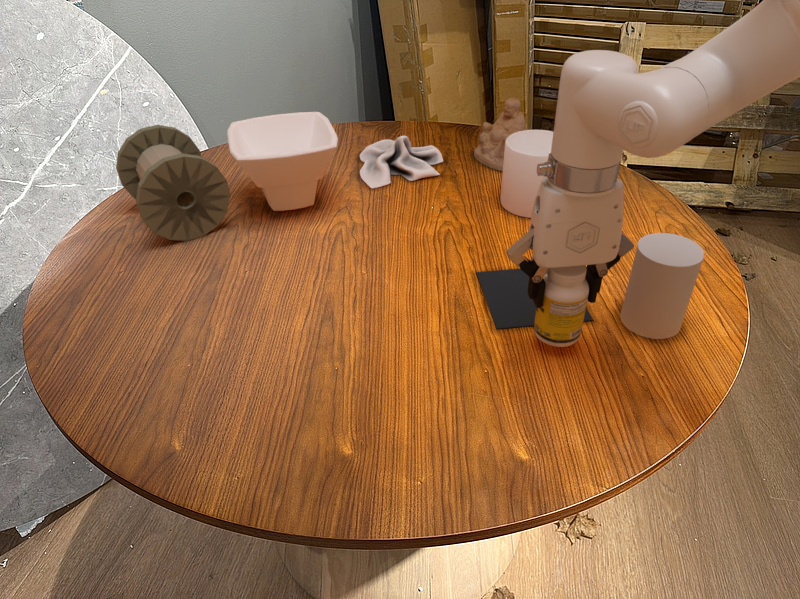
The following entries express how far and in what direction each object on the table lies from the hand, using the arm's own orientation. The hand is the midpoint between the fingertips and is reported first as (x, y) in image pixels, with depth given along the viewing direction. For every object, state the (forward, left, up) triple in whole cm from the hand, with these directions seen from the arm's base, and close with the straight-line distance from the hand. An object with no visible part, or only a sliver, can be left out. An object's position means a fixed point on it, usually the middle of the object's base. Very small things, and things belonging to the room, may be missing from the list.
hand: (562, 297), depth 79 cm
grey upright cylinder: (-15, -3, -8) cm, 17 cm away
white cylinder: (-8, -39, -8) cm, 41 cm away
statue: (-7, -59, -8) cm, 60 cm away
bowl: (+37, -46, -8) cm, 60 cm away
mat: (0, -11, -8) cm, 14 cm away
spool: (+57, -43, -8) cm, 72 cm away
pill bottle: (0, 0, -6) cm, 6 cm away
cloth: (+15, -59, -8) cm, 61 cm away
